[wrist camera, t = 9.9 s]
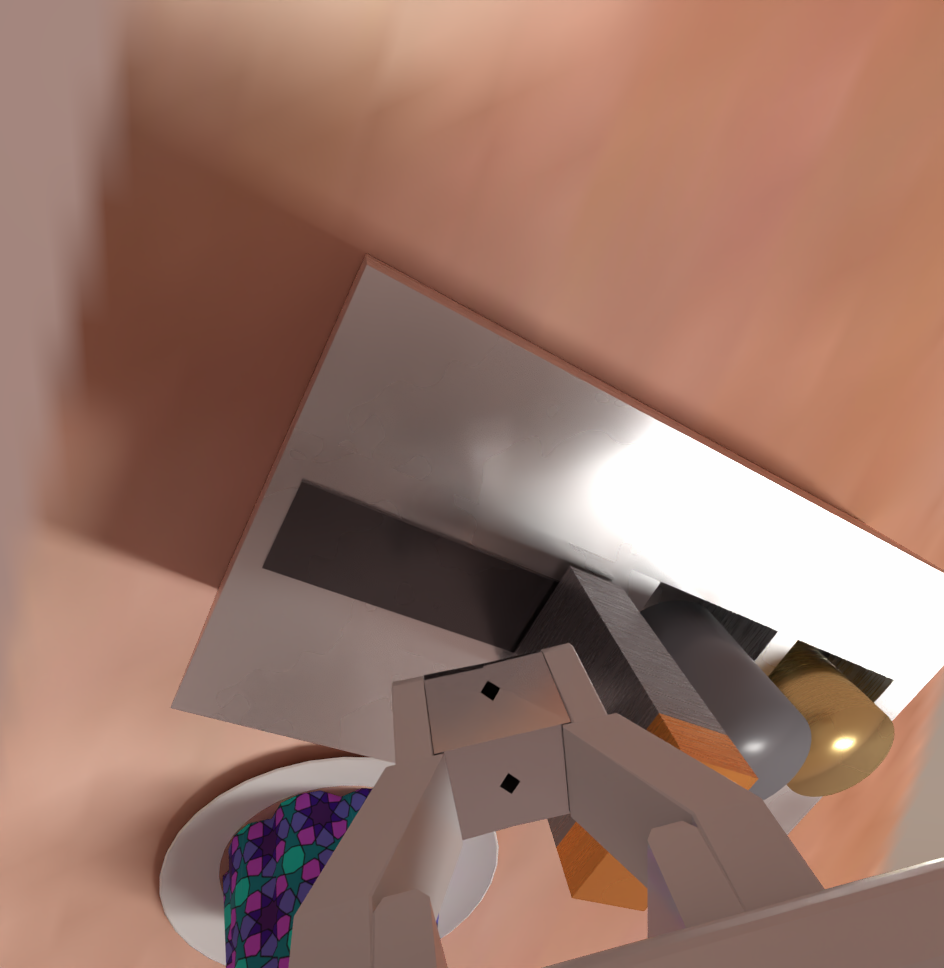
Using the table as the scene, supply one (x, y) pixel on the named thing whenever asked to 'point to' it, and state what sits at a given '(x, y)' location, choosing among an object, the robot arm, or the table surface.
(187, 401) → the table surface
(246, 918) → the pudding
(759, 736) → the button slate
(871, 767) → the button brass
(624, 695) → the slider
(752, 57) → the table surface
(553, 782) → the robot arm
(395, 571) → the panel
